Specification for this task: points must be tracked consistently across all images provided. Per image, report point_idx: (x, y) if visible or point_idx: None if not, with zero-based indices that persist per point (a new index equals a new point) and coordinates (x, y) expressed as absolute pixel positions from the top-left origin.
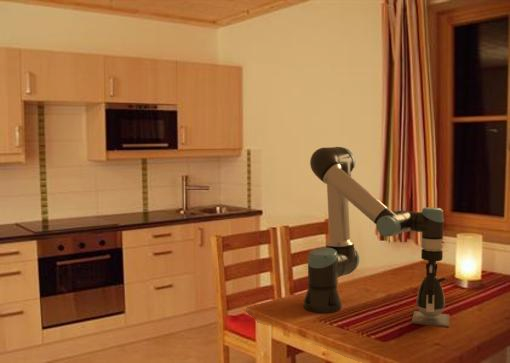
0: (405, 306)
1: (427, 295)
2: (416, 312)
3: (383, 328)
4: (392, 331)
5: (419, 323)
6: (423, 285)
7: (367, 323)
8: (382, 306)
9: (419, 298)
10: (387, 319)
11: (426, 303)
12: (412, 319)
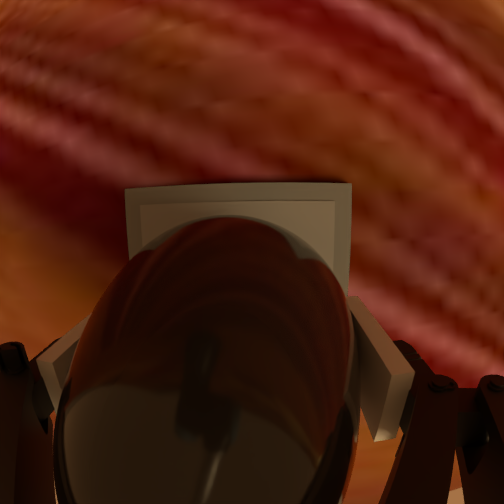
0: (443, 128)
1: (44, 362)
2: (322, 199)
3: (28, 83)
4: (7, 131)
5: (129, 235)
6: (71, 378)
7: (74, 3)
8: (386, 5)
9: (130, 261)
10: (150, 51)
11: (83, 320)
12: (162, 189)
